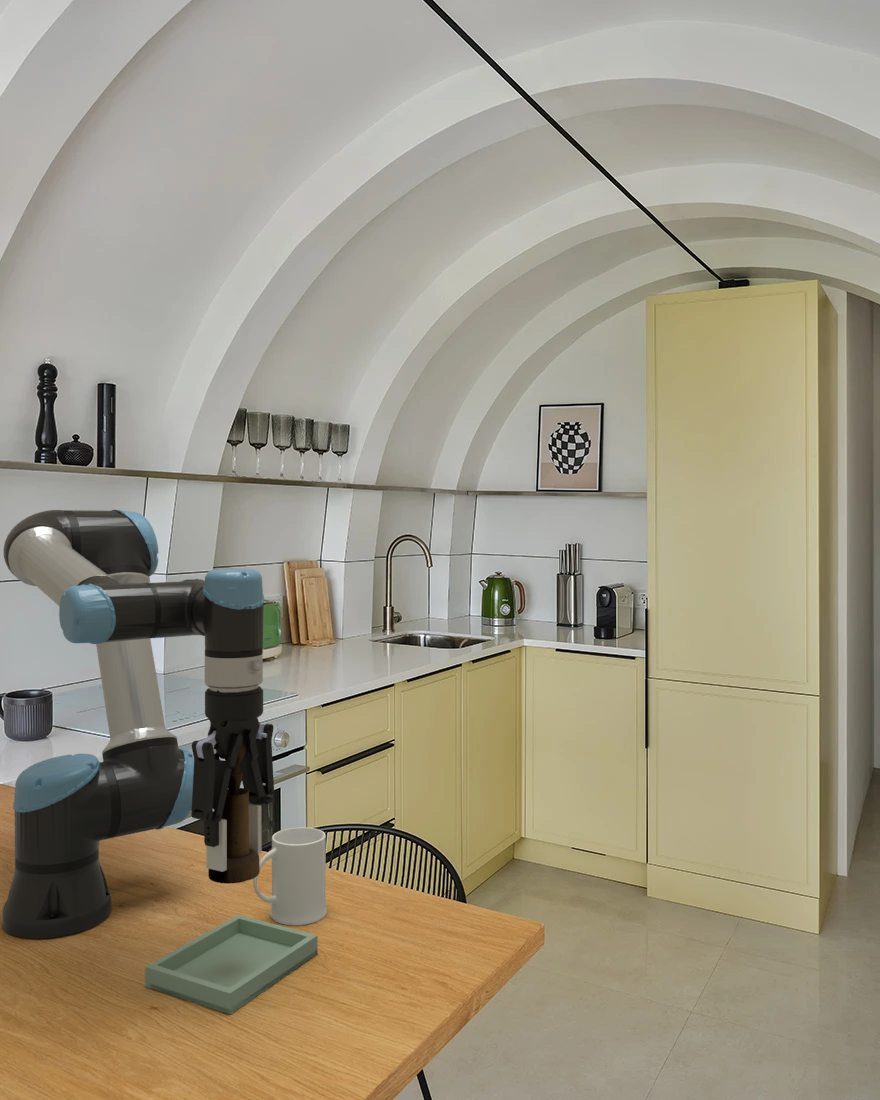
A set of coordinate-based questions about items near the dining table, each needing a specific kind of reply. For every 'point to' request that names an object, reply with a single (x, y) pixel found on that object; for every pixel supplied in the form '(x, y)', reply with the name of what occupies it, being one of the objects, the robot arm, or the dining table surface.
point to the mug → (297, 876)
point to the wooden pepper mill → (237, 832)
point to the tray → (231, 963)
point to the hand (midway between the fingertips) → (234, 860)
